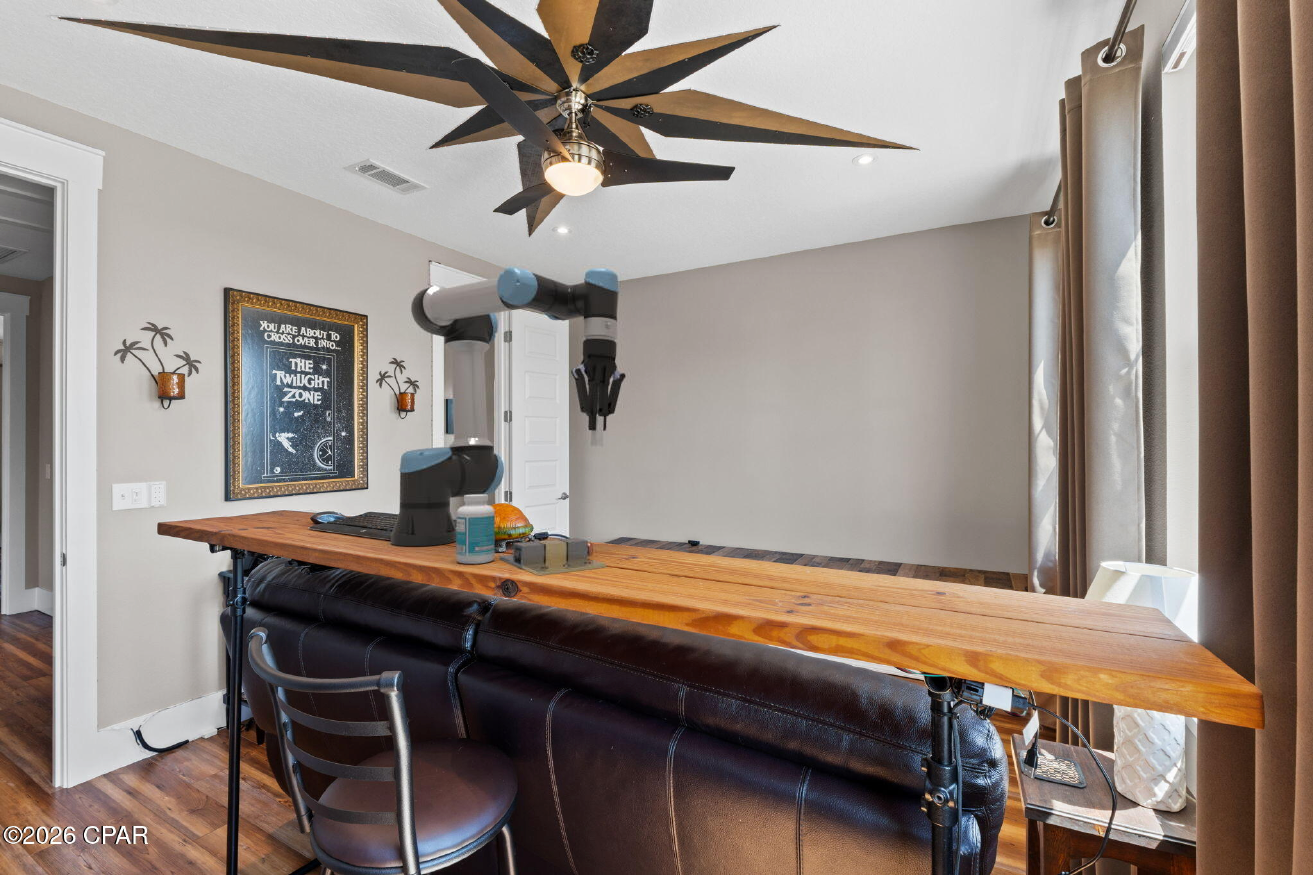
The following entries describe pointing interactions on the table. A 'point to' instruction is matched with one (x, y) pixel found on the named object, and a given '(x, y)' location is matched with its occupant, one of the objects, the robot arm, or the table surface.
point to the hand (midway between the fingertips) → (596, 445)
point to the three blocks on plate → (552, 556)
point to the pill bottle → (475, 531)
